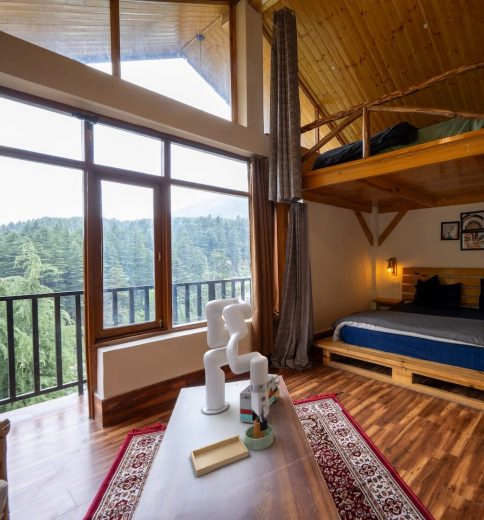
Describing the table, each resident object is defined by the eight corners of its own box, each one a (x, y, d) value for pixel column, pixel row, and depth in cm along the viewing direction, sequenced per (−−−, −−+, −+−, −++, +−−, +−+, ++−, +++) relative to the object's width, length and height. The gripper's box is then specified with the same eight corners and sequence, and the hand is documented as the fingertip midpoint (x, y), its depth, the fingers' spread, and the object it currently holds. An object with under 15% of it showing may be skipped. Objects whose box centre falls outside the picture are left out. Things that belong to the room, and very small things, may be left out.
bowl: (241, 440, 132) (241, 429, 132) (267, 431, 139) (267, 420, 139) (250, 455, 122) (250, 443, 122) (277, 444, 129) (277, 433, 129)
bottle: (253, 440, 131) (252, 416, 131) (262, 437, 133) (262, 413, 133) (256, 445, 127) (256, 420, 127) (265, 441, 130) (265, 417, 130)
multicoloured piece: (280, 396, 173) (280, 370, 173) (254, 425, 143) (254, 394, 143) (267, 395, 174) (267, 369, 174) (239, 423, 145) (239, 393, 144)
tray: (190, 457, 121) (190, 451, 121) (238, 440, 132) (238, 434, 132) (196, 477, 110) (196, 470, 110) (248, 456, 121) (248, 450, 121)
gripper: (275, 390, 125) (275, 431, 125) (260, 377, 139) (261, 413, 139) (257, 395, 121) (258, 437, 121) (244, 381, 135) (244, 419, 135)
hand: (259, 424), depth 130 cm, fingers open, 9 cm apart
